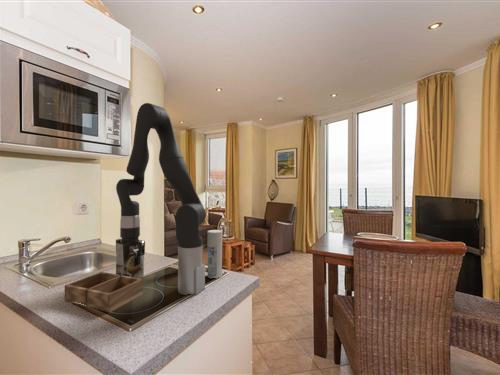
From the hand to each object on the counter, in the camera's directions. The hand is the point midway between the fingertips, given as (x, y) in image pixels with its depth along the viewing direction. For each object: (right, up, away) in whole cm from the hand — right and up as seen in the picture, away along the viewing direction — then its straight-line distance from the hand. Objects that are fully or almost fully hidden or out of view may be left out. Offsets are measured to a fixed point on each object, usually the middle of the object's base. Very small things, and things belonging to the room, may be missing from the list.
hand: (130, 264), depth 104 cm
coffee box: (0, -7, 0) cm, 7 cm away
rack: (-1, -7, -17) cm, 18 cm away
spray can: (+36, -7, +4) cm, 36 cm away
